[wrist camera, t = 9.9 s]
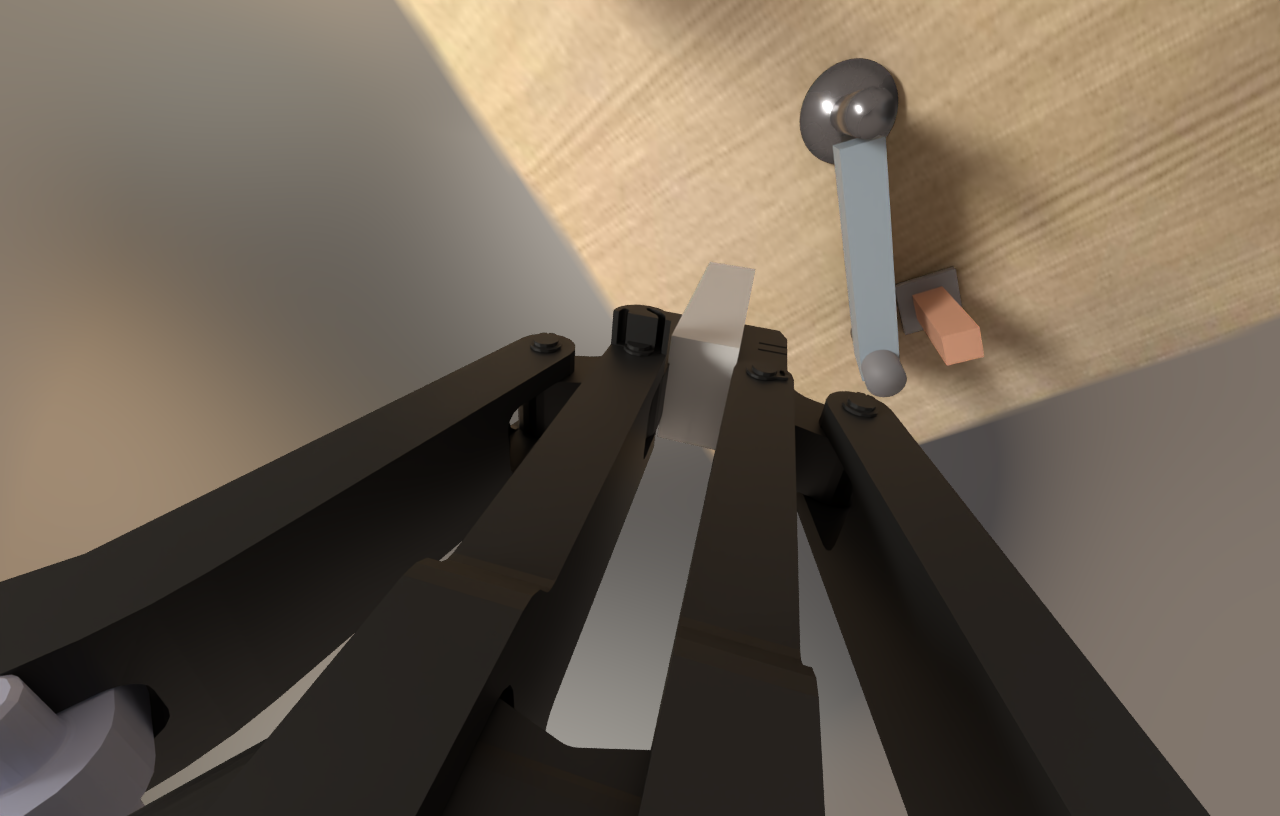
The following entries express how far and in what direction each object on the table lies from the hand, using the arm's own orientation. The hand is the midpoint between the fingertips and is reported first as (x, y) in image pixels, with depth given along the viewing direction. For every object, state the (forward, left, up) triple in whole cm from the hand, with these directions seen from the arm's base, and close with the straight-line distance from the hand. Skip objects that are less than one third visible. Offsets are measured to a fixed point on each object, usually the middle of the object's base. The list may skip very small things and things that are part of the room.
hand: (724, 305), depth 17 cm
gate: (-6, +6, -24) cm, 26 cm away
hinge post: (-7, -3, -24) cm, 26 cm away
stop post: (-10, +12, -24) cm, 29 cm away
